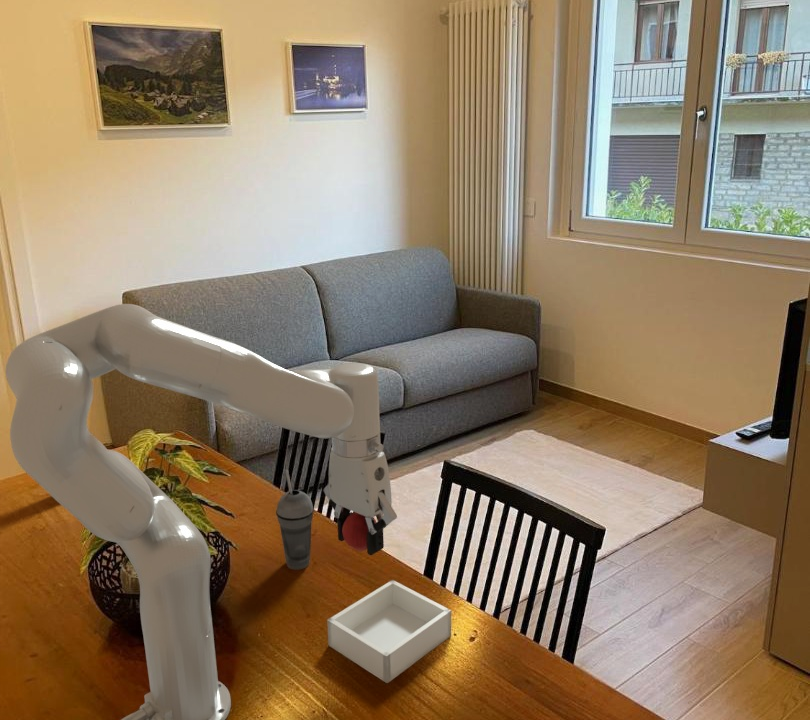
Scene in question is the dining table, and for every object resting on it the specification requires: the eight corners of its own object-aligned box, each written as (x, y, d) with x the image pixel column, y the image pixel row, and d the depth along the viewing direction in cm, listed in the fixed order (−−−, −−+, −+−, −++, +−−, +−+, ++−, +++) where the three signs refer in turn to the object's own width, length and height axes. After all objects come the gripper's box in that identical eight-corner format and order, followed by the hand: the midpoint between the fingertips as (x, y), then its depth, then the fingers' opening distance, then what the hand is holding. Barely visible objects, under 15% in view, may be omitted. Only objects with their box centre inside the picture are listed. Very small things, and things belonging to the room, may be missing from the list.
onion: (376, 539, 131) (374, 496, 128) (381, 558, 125) (380, 513, 123) (341, 543, 130) (339, 500, 127) (345, 562, 124) (343, 517, 122)
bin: (387, 683, 121) (386, 656, 120) (328, 645, 130) (327, 619, 128) (451, 635, 132) (451, 610, 131) (392, 603, 141) (392, 579, 139)
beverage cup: (306, 576, 150) (301, 481, 144) (272, 570, 152) (266, 476, 146) (322, 556, 156) (318, 465, 150) (289, 550, 158) (284, 460, 152)
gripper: (413, 449, 119) (416, 553, 124) (335, 422, 130) (340, 518, 135) (380, 465, 113) (383, 573, 119) (301, 436, 124) (308, 536, 130)
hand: (360, 543), depth 127 cm, fingers closed on onion, 5 cm apart
